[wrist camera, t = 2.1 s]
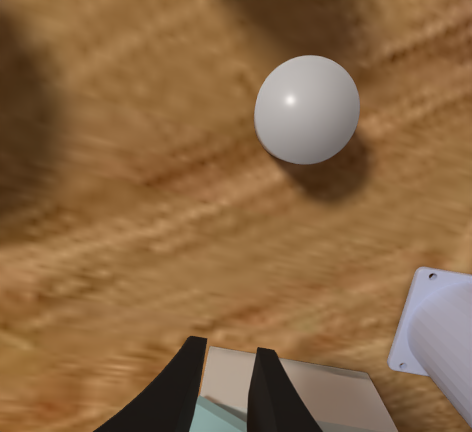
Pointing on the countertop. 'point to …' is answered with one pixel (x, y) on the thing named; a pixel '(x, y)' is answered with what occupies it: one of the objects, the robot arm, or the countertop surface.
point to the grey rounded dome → (306, 110)
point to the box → (300, 391)
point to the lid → (214, 419)
